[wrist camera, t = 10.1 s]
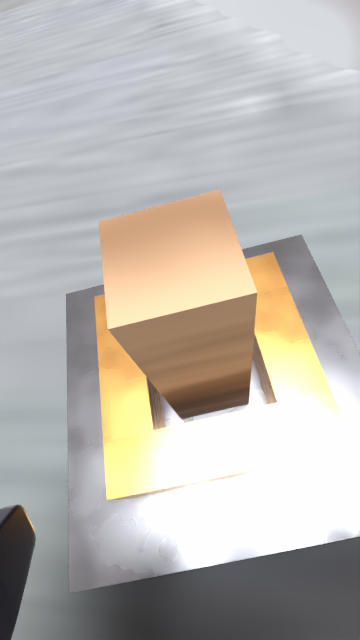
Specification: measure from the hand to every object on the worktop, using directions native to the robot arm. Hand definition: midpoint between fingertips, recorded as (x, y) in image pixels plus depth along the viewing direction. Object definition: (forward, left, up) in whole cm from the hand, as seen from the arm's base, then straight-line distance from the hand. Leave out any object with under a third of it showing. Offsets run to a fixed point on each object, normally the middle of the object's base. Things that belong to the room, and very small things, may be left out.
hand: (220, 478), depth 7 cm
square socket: (+5, -3, -13) cm, 14 cm away
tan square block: (+5, -3, -11) cm, 13 cm away
